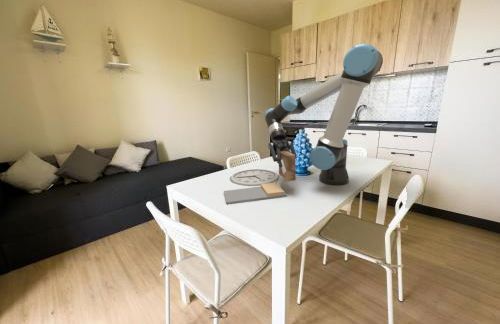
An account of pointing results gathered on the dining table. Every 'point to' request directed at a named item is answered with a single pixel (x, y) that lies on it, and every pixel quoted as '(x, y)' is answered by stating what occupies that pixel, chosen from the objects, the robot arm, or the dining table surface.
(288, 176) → the brown wooden square block
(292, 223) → the dining table surface
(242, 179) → the wall clock
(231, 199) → the underlay board
